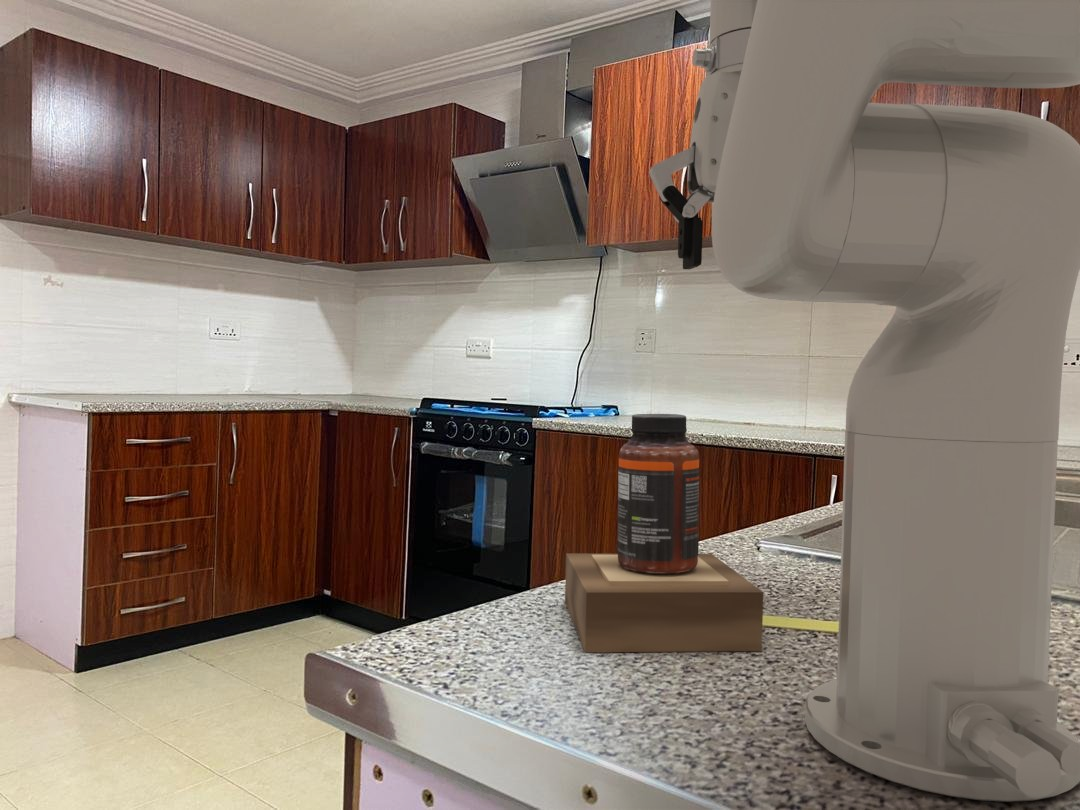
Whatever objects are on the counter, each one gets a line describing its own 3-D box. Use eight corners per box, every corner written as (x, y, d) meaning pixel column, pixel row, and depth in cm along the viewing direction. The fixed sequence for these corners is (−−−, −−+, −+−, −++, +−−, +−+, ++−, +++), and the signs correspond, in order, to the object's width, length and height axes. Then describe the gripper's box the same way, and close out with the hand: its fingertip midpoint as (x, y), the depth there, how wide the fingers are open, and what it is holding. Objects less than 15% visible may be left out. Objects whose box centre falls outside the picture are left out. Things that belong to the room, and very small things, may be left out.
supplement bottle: (694, 560, 63) (698, 413, 63) (701, 578, 57) (705, 417, 57) (616, 557, 64) (619, 411, 63) (615, 575, 58) (619, 415, 58)
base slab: (761, 651, 55) (763, 587, 55) (585, 652, 54) (586, 588, 54) (710, 602, 67) (711, 550, 67) (564, 602, 66) (566, 549, 66)
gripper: (666, 43, 65) (659, 261, 66) (872, 58, 67) (862, 269, 68) (643, 75, 72) (637, 270, 73) (829, 88, 74) (821, 277, 75)
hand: (745, 269), depth 71 cm, fingers open, 9 cm apart
